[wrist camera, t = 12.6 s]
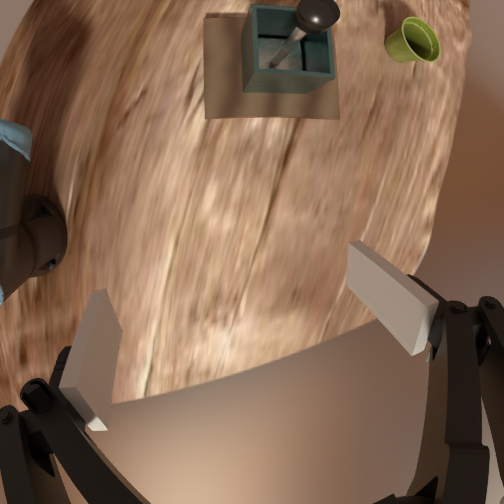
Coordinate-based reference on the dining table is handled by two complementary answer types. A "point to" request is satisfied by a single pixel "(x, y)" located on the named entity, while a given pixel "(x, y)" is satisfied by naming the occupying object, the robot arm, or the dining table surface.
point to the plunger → (297, 35)
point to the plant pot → (413, 42)
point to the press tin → (280, 27)
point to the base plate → (254, 104)
